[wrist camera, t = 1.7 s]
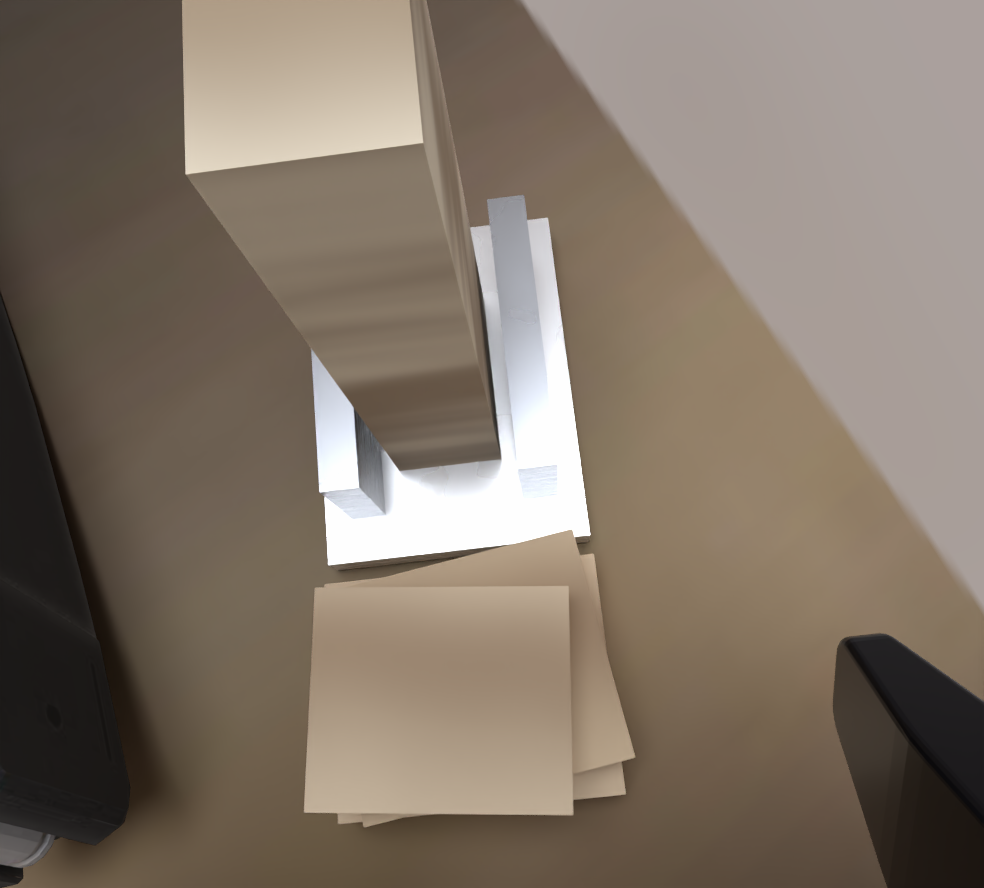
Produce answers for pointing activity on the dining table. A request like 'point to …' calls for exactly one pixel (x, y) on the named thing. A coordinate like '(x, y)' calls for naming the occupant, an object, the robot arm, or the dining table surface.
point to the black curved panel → (46, 656)
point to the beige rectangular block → (349, 205)
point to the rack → (521, 424)
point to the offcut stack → (465, 689)
